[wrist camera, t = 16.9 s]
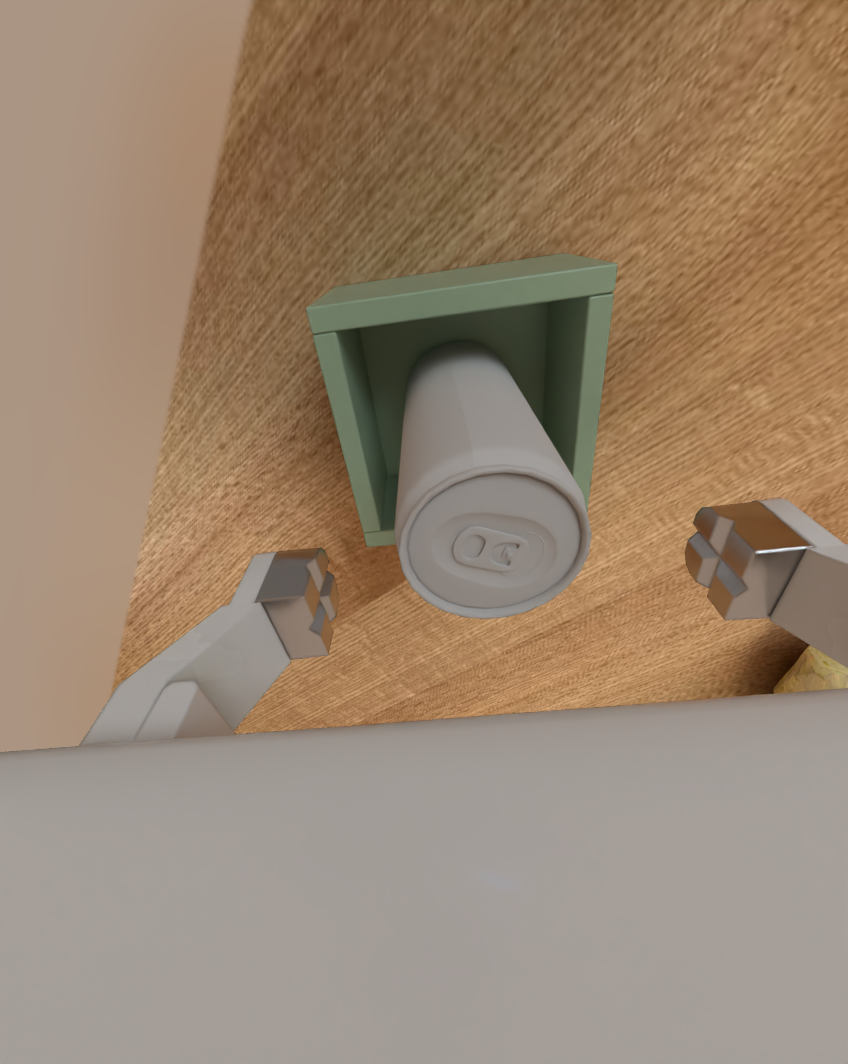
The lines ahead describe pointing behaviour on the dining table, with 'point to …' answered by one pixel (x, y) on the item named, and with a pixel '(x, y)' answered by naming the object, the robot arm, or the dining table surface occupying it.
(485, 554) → the beverage can
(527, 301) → the bin
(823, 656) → the lettuce
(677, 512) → the dining table surface
